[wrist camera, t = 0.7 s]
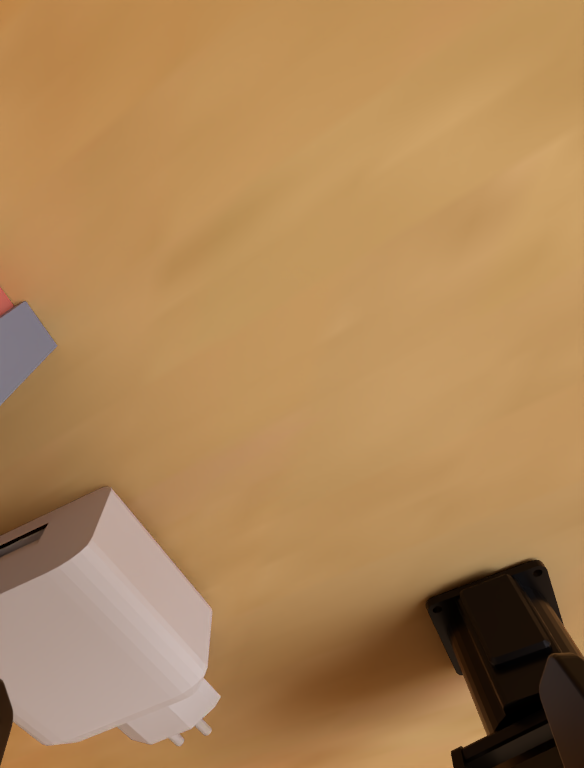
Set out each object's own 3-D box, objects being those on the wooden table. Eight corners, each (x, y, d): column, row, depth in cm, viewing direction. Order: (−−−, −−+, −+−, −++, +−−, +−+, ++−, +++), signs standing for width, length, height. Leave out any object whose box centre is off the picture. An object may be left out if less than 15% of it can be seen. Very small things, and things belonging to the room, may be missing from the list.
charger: (132, 720, 30) (-49, 556, 24) (268, 665, 29) (114, 477, 23) (112, 814, 26) (-113, 644, 20) (271, 755, 25) (83, 554, 19)
